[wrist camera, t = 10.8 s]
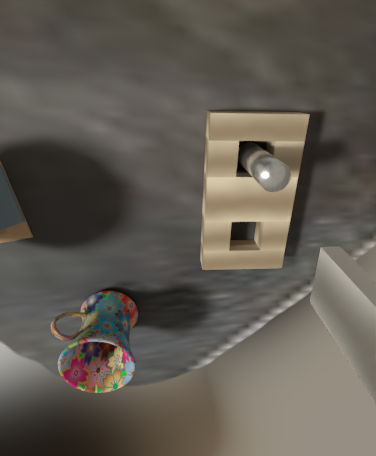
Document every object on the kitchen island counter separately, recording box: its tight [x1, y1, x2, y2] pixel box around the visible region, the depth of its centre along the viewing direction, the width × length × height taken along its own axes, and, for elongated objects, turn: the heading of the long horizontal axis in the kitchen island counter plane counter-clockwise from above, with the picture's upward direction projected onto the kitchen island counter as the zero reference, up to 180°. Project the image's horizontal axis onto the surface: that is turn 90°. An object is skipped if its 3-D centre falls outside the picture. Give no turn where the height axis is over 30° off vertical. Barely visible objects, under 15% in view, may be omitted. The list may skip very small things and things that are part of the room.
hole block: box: [200, 110, 310, 270], centre depth 39 cm, size 20×11×3 cm, turn 179°
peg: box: [238, 143, 291, 192], centre depth 33 cm, size 3×3×10 cm
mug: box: [51, 291, 138, 393], centre depth 41 cm, size 12×9×11 cm
